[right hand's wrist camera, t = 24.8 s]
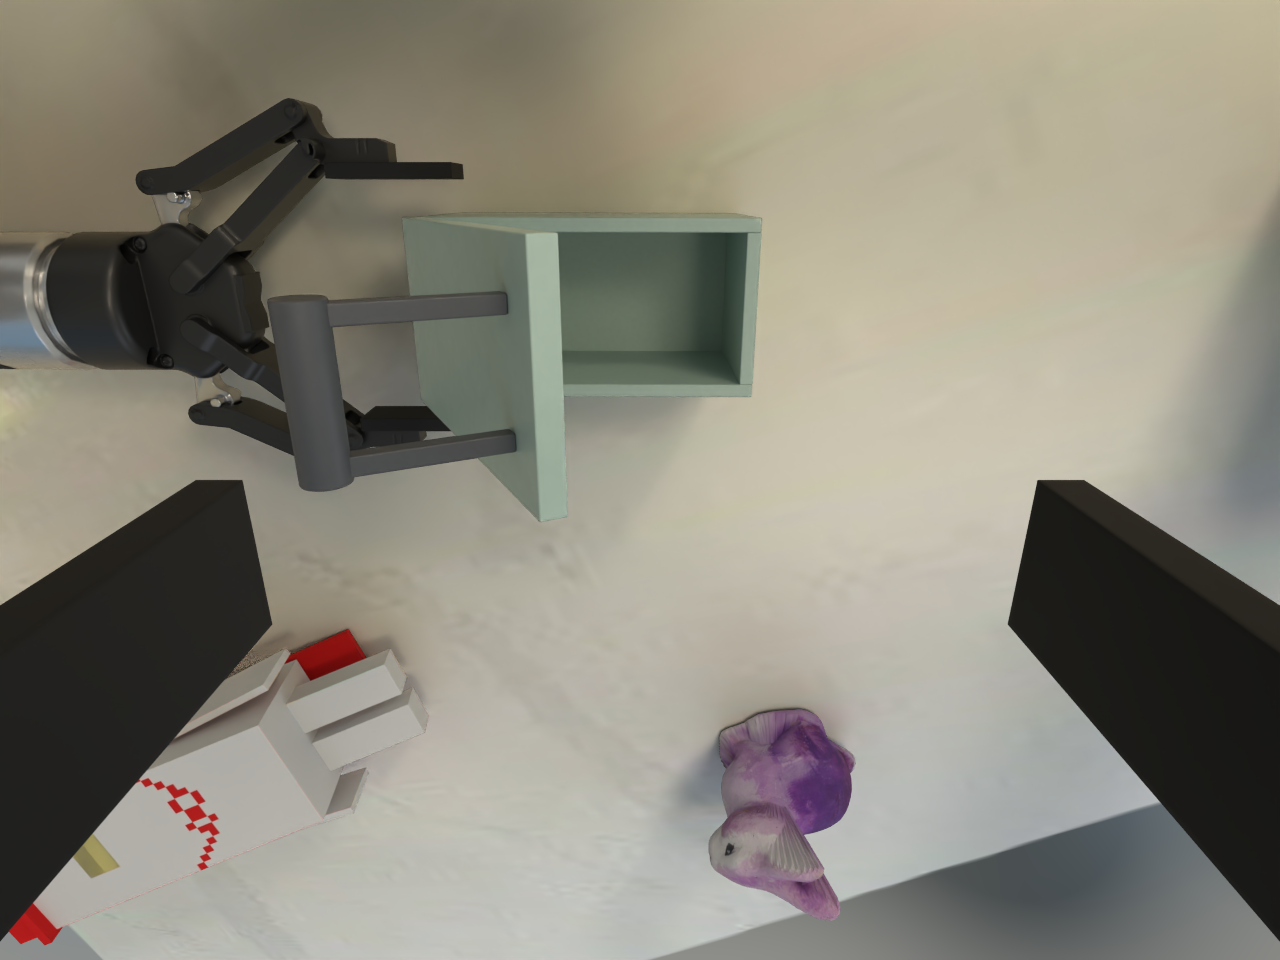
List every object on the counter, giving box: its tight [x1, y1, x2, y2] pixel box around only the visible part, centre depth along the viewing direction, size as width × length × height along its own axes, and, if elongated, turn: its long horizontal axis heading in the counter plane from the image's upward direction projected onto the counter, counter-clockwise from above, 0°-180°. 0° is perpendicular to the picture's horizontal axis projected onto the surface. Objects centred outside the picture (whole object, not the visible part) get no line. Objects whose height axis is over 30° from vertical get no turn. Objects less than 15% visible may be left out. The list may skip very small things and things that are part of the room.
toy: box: [9, 630, 429, 945], centre depth 55 cm, size 12×13×30 cm
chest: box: [421, 213, 762, 397], centre depth 43 cm, size 17×9×10 cm, turn 90°
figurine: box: [709, 709, 856, 921], centre depth 54 cm, size 9×10×15 cm
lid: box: [267, 217, 568, 522], centre depth 29 cm, size 18×9×8 cm
